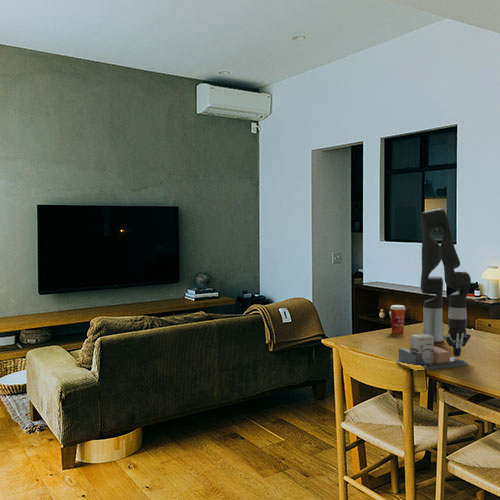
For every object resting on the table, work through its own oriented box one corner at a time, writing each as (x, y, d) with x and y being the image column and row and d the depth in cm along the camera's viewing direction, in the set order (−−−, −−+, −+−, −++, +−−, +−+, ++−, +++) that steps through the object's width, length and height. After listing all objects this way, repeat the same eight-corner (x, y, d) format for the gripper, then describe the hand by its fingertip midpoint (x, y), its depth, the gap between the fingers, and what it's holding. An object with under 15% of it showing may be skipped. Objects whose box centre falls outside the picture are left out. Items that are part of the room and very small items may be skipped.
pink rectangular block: (433, 356, 229) (433, 345, 229) (450, 362, 219) (450, 351, 218) (421, 357, 227) (421, 346, 227) (438, 364, 217) (438, 352, 216)
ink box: (416, 364, 217) (416, 337, 216) (409, 361, 222) (409, 334, 221) (434, 363, 219) (434, 335, 219) (427, 360, 224) (427, 333, 223)
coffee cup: (397, 335, 280) (397, 307, 279) (386, 332, 287) (386, 305, 286) (408, 333, 284) (409, 306, 283) (398, 330, 291) (398, 304, 290)
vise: (445, 357, 233) (445, 343, 233) (467, 365, 220) (468, 350, 219) (396, 362, 225) (396, 348, 225) (416, 371, 212) (416, 355, 211)
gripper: (463, 314, 231) (463, 352, 232) (439, 316, 227) (438, 355, 228) (475, 317, 224) (475, 356, 225) (450, 319, 220) (450, 359, 221)
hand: (456, 356), depth 227 cm, fingers closed
